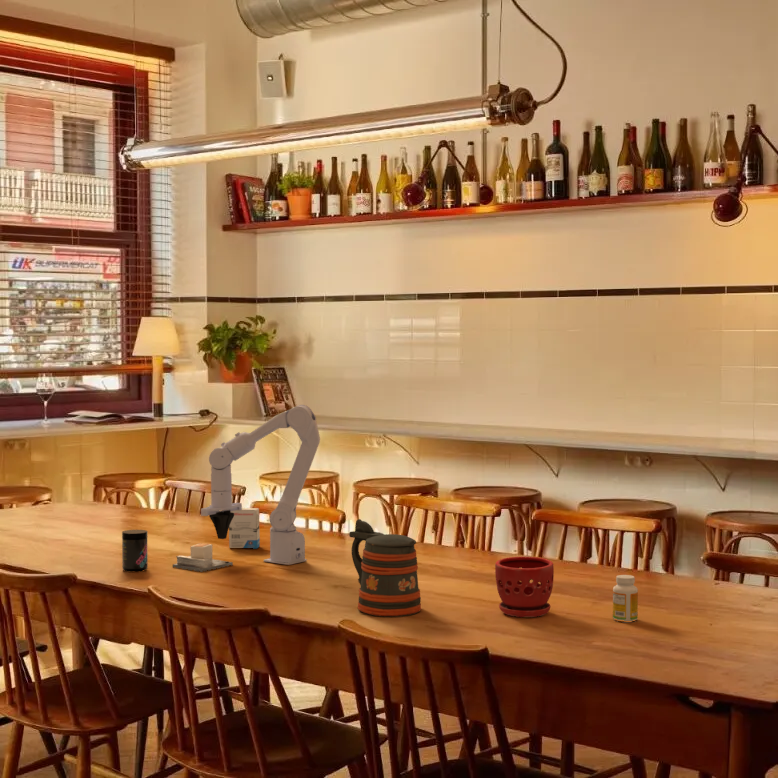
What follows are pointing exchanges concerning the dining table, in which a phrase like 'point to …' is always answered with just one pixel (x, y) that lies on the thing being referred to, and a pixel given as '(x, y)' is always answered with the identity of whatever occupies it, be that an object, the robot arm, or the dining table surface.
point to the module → (201, 551)
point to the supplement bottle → (625, 598)
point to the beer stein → (386, 572)
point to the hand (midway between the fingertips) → (222, 538)
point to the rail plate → (199, 563)
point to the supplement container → (134, 550)
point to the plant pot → (524, 585)
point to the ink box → (244, 529)
